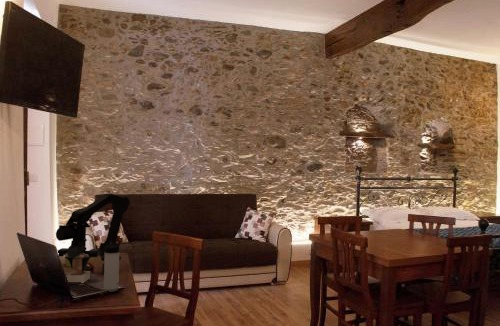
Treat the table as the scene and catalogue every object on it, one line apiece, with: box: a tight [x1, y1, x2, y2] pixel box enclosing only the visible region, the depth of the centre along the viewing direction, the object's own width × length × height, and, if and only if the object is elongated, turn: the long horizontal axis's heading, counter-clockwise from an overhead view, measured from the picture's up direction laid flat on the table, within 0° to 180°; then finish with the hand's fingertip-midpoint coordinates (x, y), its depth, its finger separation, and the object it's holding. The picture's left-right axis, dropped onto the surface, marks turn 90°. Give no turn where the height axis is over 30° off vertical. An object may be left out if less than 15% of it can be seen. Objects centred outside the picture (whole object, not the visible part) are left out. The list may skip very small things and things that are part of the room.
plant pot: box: [64, 255, 81, 268], centre depth 224 cm, size 9×9×9 cm
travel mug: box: [103, 242, 121, 293], centre depth 184 cm, size 6×7×20 cm
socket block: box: [65, 270, 91, 283], centre depth 194 cm, size 8×8×4 cm
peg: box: [71, 256, 85, 275], centre depth 194 cm, size 4×4×9 cm
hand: (78, 271), depth 194 cm, fingers closed on peg, 4 cm apart
